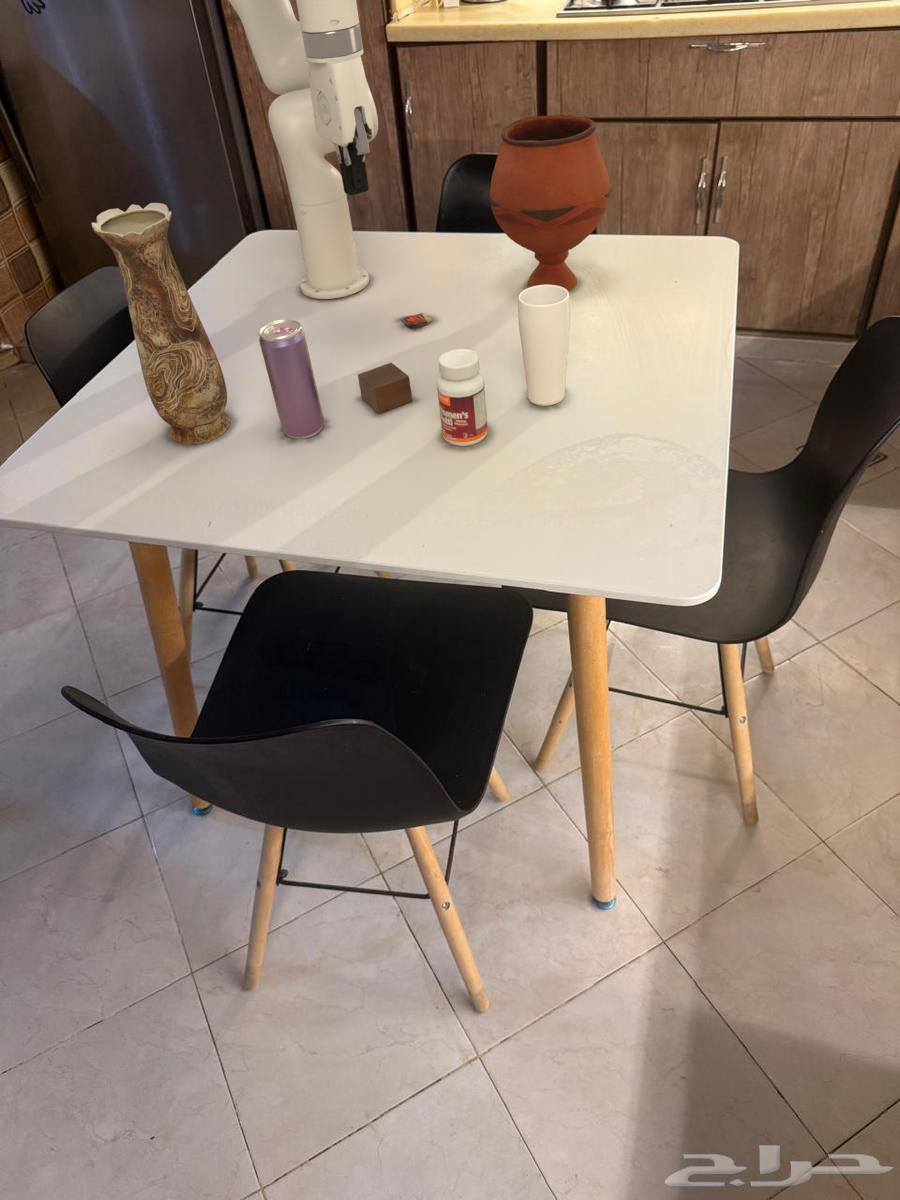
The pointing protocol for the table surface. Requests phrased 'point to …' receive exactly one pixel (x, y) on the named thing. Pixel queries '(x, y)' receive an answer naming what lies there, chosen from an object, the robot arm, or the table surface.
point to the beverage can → (291, 378)
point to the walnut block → (385, 388)
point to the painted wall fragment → (416, 320)
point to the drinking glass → (544, 341)
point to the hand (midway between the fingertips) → (356, 191)
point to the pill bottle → (461, 398)
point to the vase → (166, 325)
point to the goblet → (550, 190)
